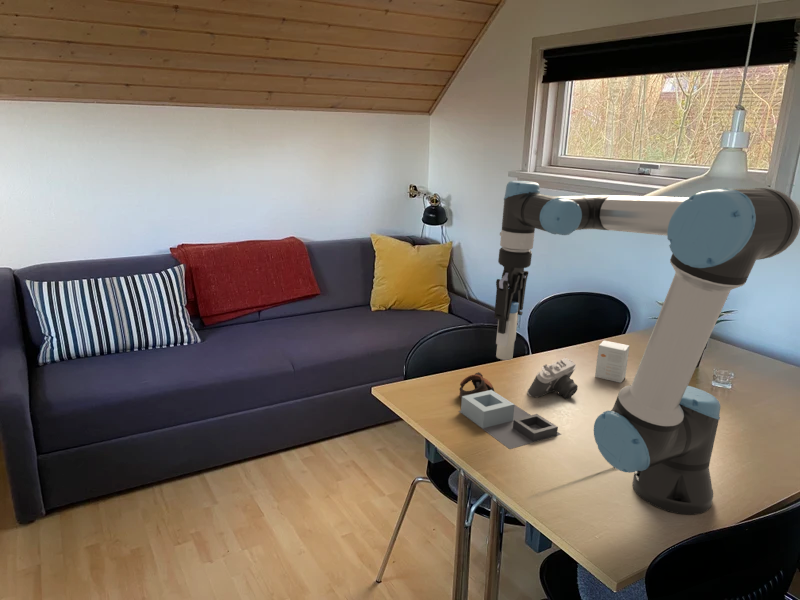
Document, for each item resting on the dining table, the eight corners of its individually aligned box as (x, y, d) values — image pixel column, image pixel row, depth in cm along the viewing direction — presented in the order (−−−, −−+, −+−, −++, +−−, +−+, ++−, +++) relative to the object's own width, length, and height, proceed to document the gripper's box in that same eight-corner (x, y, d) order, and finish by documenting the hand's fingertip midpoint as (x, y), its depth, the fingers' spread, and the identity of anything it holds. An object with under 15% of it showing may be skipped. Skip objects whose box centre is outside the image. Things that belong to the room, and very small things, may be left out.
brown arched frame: (500, 410, 158) (488, 388, 155) (467, 420, 161) (455, 399, 157) (496, 381, 169) (485, 360, 165) (465, 392, 171) (454, 371, 167)
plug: (515, 358, 145) (522, 304, 141) (502, 360, 143) (508, 306, 139) (505, 352, 148) (511, 299, 144) (492, 354, 146) (498, 301, 142)
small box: (625, 377, 181) (630, 345, 178) (621, 383, 177) (626, 350, 174) (599, 371, 185) (603, 339, 183) (594, 377, 181) (598, 344, 178)
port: (513, 420, 150) (514, 404, 149) (482, 428, 145) (484, 411, 144) (490, 405, 158) (491, 389, 157) (460, 412, 153) (461, 396, 152)
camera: (522, 391, 166) (537, 365, 160) (556, 375, 176) (571, 350, 170) (546, 414, 161) (562, 388, 155) (579, 396, 171) (596, 371, 165)
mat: (561, 437, 144) (561, 434, 144) (509, 452, 136) (509, 449, 136) (506, 402, 162) (506, 399, 161) (458, 413, 154) (458, 411, 154)
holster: (556, 435, 143) (557, 426, 143) (533, 441, 140) (534, 433, 139) (536, 421, 150) (537, 413, 149) (512, 427, 146) (513, 419, 146)
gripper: (515, 240, 146) (506, 329, 153) (485, 251, 133) (476, 348, 140) (544, 245, 142) (533, 336, 149) (516, 257, 129) (505, 356, 136)
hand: (505, 341), depth 145 cm, fingers closed on plug, 4 cm apart
